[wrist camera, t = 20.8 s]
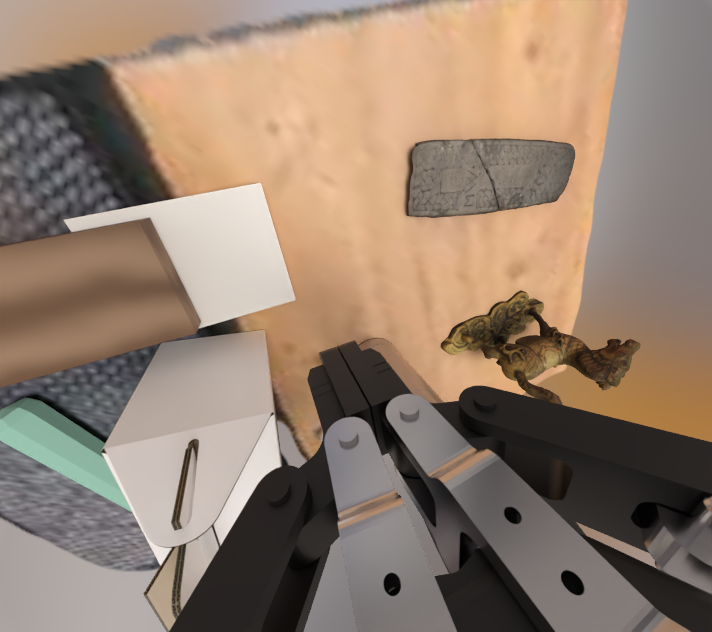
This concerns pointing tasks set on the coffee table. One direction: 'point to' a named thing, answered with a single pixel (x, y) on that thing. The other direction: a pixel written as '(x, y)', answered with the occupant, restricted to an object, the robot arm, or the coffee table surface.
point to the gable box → (194, 453)
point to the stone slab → (486, 175)
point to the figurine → (537, 347)
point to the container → (59, 446)
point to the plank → (87, 299)
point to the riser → (215, 249)
